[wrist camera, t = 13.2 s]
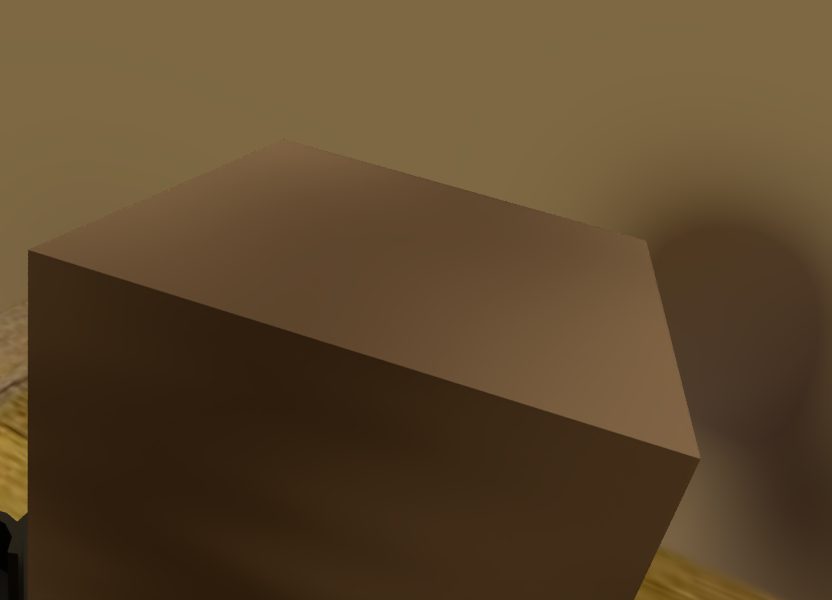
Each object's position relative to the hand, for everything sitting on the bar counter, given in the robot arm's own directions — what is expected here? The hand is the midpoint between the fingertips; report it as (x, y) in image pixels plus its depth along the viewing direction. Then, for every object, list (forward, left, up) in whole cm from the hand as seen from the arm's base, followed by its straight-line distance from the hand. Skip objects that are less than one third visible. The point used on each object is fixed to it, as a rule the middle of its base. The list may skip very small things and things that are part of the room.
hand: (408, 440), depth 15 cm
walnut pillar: (0, +5, -8) cm, 10 cm away
